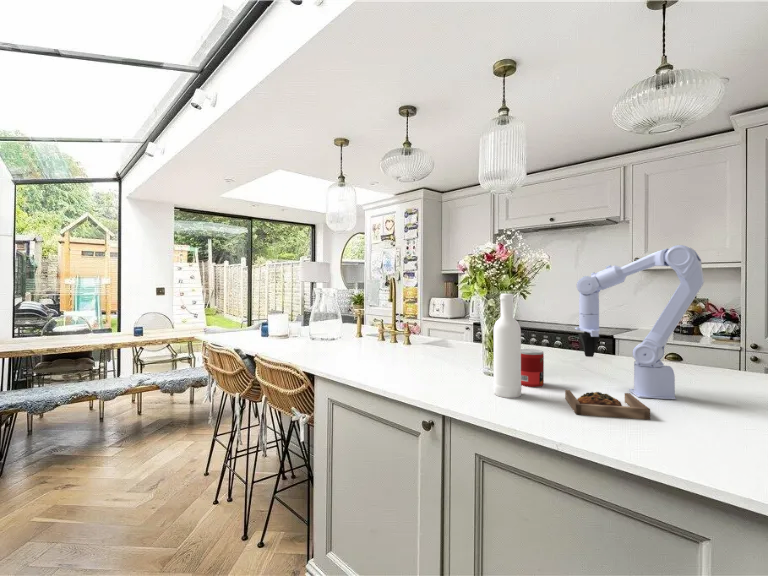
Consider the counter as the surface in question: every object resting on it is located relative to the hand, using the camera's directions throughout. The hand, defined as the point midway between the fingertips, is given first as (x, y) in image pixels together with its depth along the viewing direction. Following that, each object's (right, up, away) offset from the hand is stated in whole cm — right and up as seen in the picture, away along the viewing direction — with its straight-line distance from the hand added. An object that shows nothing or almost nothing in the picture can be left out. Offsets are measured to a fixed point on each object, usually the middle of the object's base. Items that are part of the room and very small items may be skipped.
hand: (589, 356), depth 127 cm
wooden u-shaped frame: (-8, -10, -23) cm, 26 cm away
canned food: (-18, -10, +3) cm, 21 cm away
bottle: (-29, -10, -9) cm, 32 cm away
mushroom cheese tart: (-9, -10, -21) cm, 25 cm away
